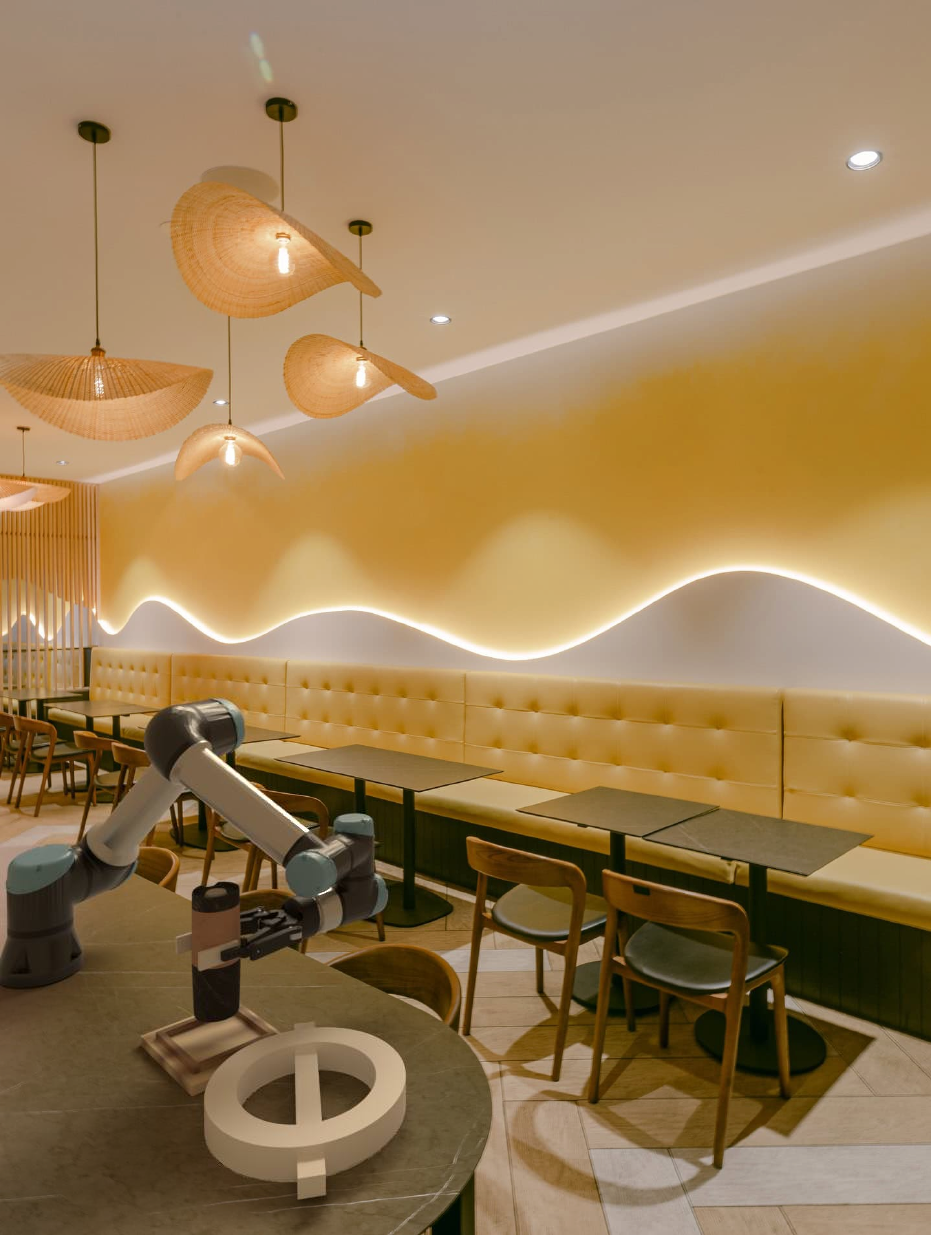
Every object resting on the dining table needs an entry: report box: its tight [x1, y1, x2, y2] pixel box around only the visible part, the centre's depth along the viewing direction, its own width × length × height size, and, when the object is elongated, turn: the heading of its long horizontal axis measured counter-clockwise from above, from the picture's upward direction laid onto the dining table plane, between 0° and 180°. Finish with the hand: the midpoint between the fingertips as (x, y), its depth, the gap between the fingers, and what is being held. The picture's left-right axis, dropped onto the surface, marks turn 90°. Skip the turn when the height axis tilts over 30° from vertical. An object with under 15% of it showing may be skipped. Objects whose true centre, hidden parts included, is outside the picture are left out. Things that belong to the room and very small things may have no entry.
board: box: [139, 1002, 282, 1097], centre depth 127 cm, size 19×17×2 cm
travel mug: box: [191, 881, 242, 1023], centre depth 126 cm, size 8×8×20 cm
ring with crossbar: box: [203, 1021, 407, 1200], centre depth 111 cm, size 28×28×5 cm
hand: (187, 953), depth 123 cm, fingers closed on travel mug, 7 cm apart
